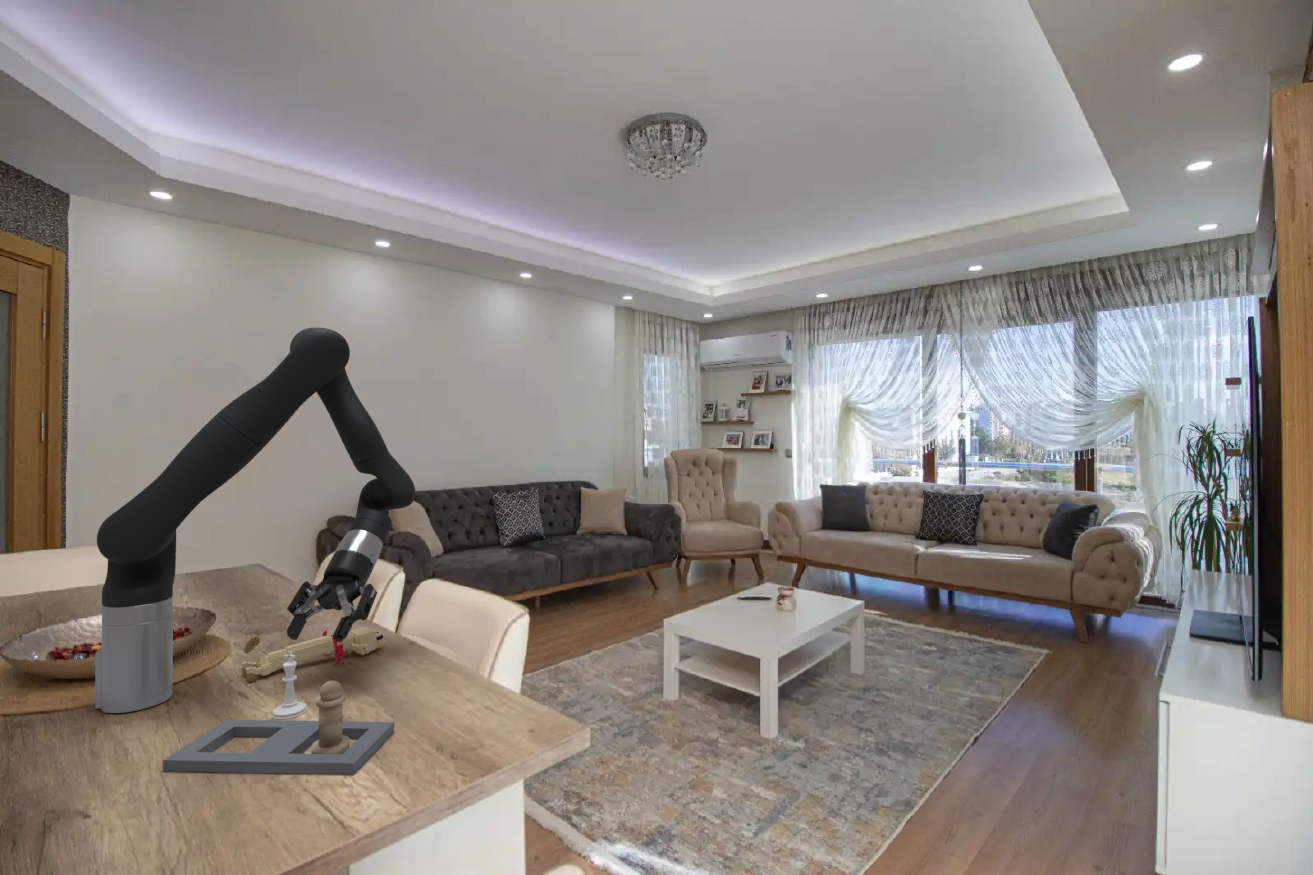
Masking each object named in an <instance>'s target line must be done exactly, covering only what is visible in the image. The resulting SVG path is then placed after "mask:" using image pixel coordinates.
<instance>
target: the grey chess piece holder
mask: <svg viewBox="0 0 1313 875" xmlns="http://www.w3.org/2000/svg"><path fill="white" fill-rule="evenodd" d="M394 733H395V721H348V720H345V721H344V720H342V735H345V736H348V737H349V739H355V740H356V739H357V740H356V741H355V742H354V743H352V745H351V746H349V749H348V750H347V751H345V752H344V753H343V754H311V753H304V752H305V751H306V750H308V748H310V747H311V746H312V744H313V743H314V742H315V741H317V740H319V720H291V719H290V720H289V719H275V720H274V719H225V720H224V721H222V722H221V723H219V724H218V725H216V726H214V727H213V728H211V729H210V730H208V731H206V732H205V733H203V734H202V735H200V736H199V737H198V738H196V739H194V740H192V741H190V742H189V743H188V744H186V745H184V746H182V747H181V748H180V749H178V750H177V751H175V752H173V753H171V754H170V755H169V756H167V757H165V758H163V760H162V772H177V773H178V772H179V773H180V772H181V773H185V772H186V773H187V772H188V773H189V772H190V773H191V772H192V773H235V774H237V773H240V774H241V773H242V774H243V773H244V774H289V775H290V774H293V775H294V774H296V775H297V774H298V775H299V774H300V775H301V774H302V775H305V774H306V775H348V776H349V775H355V774H356V773H357V772H359V769H360V768H361V767H362V766H363V765H364V764H366V763H367V761H368V760H369V759H370V758H371V757H372V756H373V755H374V754H375V753H376V752H377V751H378V750H379V748H381V747H382V745H383V744H384V743H385V742H386V741H387V740H388V739H389V738H390V737H391V736H393V734H394ZM235 737H237V738H239V737H242V738H243V737H244V738H246V737H247V738H267V739H266V740H265V741H263V742H261V743H260V744H259V745H258V746H257V747H255V748H253V749H252V750H251V751H250V752H224V751H222V752H221V751H220V752H218V751H217V752H216V750H217V749H218V748H220V747H221V746H223V745H224V744H225V743H227V742H228V741H230V740H231V739H233V738H235Z"/></svg>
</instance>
